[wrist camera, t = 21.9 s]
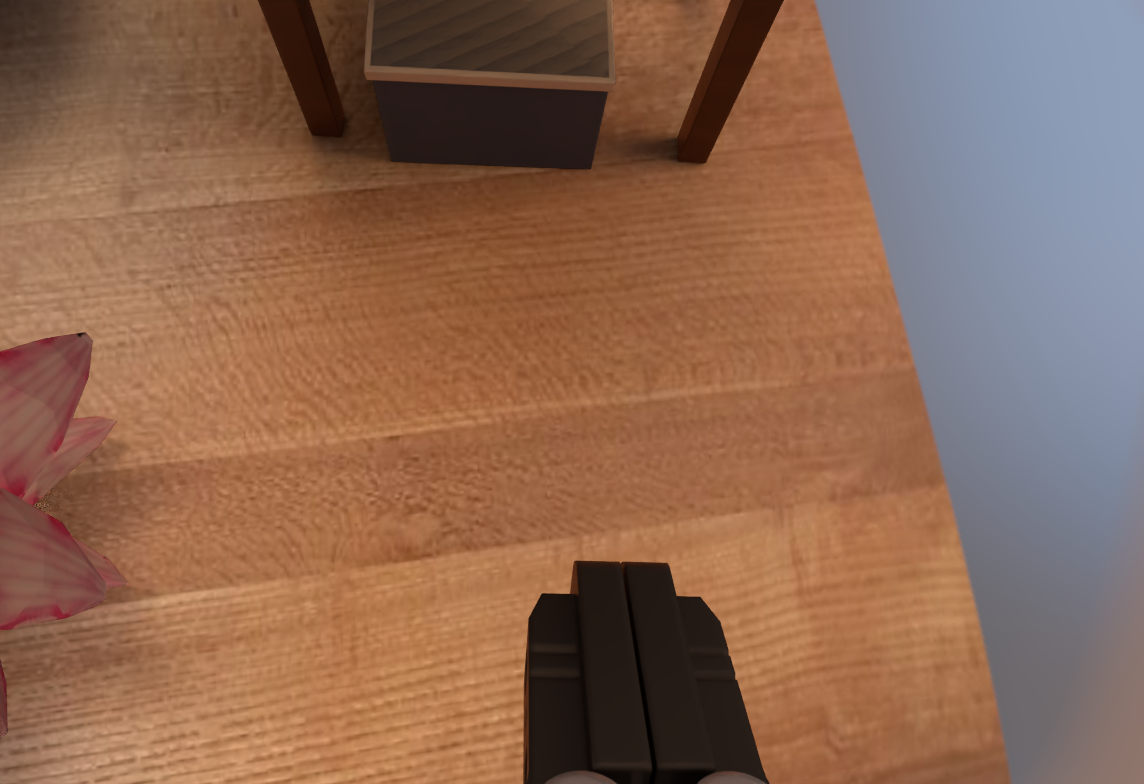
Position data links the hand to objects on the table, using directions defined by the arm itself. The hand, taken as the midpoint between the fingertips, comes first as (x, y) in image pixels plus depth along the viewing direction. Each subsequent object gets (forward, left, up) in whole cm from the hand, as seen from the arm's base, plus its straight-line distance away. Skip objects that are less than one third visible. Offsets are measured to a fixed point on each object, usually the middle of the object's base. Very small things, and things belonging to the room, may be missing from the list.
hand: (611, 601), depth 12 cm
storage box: (-11, -24, -21) cm, 34 cm away
